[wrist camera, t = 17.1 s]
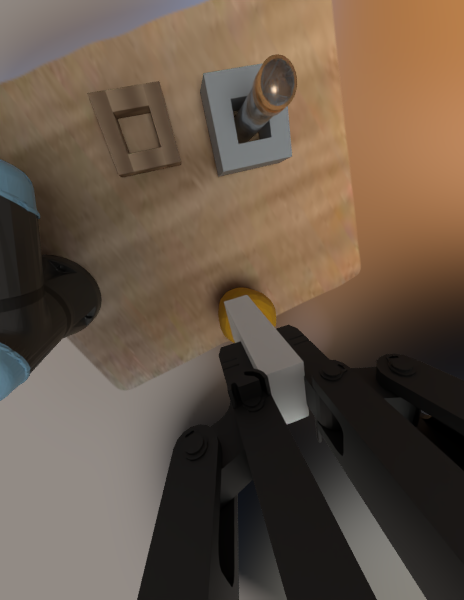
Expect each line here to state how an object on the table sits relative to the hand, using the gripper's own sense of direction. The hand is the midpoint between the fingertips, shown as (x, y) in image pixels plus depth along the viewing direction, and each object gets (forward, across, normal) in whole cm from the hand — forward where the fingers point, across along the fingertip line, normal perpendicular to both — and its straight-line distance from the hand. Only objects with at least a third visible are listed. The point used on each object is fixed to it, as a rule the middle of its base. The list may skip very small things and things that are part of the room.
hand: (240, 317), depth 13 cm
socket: (+32, +13, +17) cm, 39 cm away
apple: (+33, +5, -14) cm, 36 cm away
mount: (+32, -4, +19) cm, 38 cm away
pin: (+32, +13, +17) cm, 39 cm away
